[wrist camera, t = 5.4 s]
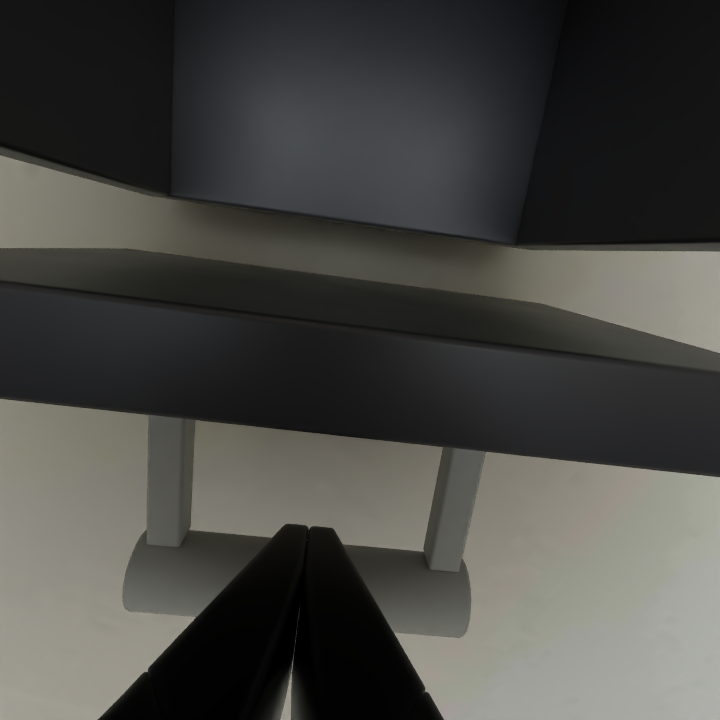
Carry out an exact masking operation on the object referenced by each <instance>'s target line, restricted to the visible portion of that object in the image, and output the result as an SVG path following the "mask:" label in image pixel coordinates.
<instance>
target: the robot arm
mask: <svg viewBox="0 0 720 720" xmlns="http://www.w3.org/2000/svg"><path fill="white" fill-rule="evenodd" d="M308 534H309V535H308ZM307 542H308V543H307ZM306 550H307V551H306ZM300 599H301V600H300ZM299 607H300V608H299ZM298 616H299V617H298ZM297 624H298V625H297ZM296 632H297V633H296ZM295 640H296V642H295ZM294 648H295V650H294ZM293 656H294V659H293ZM292 662H293V669H292ZM291 669H292V689H291V720H444V719H443V717H442V715H441V714H440V712H439V710H438V708H437V707H436V705H435V703H434V701H433V700H432V698H431V696H430V694H429V693H428V692H425V686H424V684H423V683H422V681H421V679H420V677H419V676H418V674H417V672H416V671H415V669H414V667H413V665H412V664H411V662H410V660H409V658H408V657H407V655H406V653H405V651H404V650H403V648H402V646H401V645H400V643H399V641H398V639H397V638H396V636H395V634H394V632H393V631H392V629H391V627H390V625H389V624H388V622H387V620H386V619H385V617H384V615H383V613H382V612H381V610H380V608H379V606H378V605H377V603H376V601H375V600H374V598H373V596H372V594H371V593H370V591H369V589H368V587H367V586H366V584H365V582H364V580H363V579H362V577H361V575H360V574H359V572H358V570H357V568H356V567H355V565H354V563H353V561H352V560H351V558H350V556H349V554H348V553H347V551H346V549H345V548H344V546H343V544H342V542H341V541H340V539H339V537H338V535H337V534H336V532H335V530H334V529H333V528H328V527H318V526H312V527H311V528H310V529H309V528H308V527H307V526H306V525H297V524H285V525H284V526H283V527H282V528H281V529H280V530H279V531H278V532H277V533H276V534H275V535H274V536H273V537H272V538H271V540H270V541H269V542H268V543H267V544H266V545H265V546H264V547H263V548H262V549H261V550H260V551H259V552H258V553H257V554H256V555H255V556H254V557H253V558H252V560H251V561H250V562H249V563H248V564H247V565H246V566H245V567H244V568H243V569H242V570H241V571H240V572H239V573H238V574H237V575H236V576H235V577H234V578H233V580H232V581H231V582H230V583H229V584H228V585H227V586H226V587H225V588H224V589H223V590H222V591H221V592H220V593H219V594H218V595H217V596H216V597H215V598H214V599H213V601H212V602H211V603H210V604H209V605H208V606H207V607H206V608H205V609H204V610H203V611H202V612H201V613H200V614H199V615H198V616H197V617H196V618H195V619H194V621H193V622H192V623H191V624H190V625H189V626H188V627H187V628H186V629H185V630H184V631H183V632H182V633H181V634H180V635H179V636H178V637H177V638H176V639H175V641H174V642H173V643H172V644H171V645H170V646H169V647H168V648H167V649H166V650H165V651H164V652H163V653H162V654H161V655H160V656H159V657H158V658H157V659H156V660H155V662H154V663H153V664H152V665H151V666H150V667H149V669H148V672H144V673H143V674H142V675H141V676H140V677H139V678H138V679H137V680H136V681H135V682H134V683H133V684H132V685H131V686H130V687H129V689H128V690H127V691H126V692H125V693H124V694H123V695H122V696H121V697H120V698H119V699H118V700H117V701H116V702H115V703H114V704H113V705H112V706H111V707H110V708H109V709H108V710H107V711H106V712H105V713H104V714H103V715H102V716H101V717H100V718H99V719H98V720H280V719H281V715H282V710H283V706H284V702H285V698H286V694H287V689H288V684H289V680H290V675H291Z"/></svg>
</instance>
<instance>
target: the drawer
mask: <svg viewBox="0 0 720 720" xmlns="http://www.w3.org/2000/svg"><path fill="white" fill-rule="evenodd" d="M0 155H1V156H5V157H9V158H13V159H16V160H20V161H24V162H27V163H31V164H35V165H38V166H42V167H46V168H49V169H53V170H57V171H60V172H64V173H68V174H71V175H75V176H79V177H82V178H86V179H90V180H93V181H97V182H101V183H104V184H108V185H112V186H115V187H119V188H123V189H126V190H130V191H134V192H138V193H141V194H145V195H148V196H152V197H159V198H167V199H174V200H181V201H188V202H195V203H202V204H209V205H216V206H223V207H230V208H237V209H244V210H251V211H259V212H266V213H273V214H280V215H287V216H294V217H301V218H308V219H315V220H322V221H329V222H336V223H343V224H351V225H358V226H365V227H372V228H379V229H386V230H393V231H400V232H407V233H414V234H421V235H428V236H435V237H443V238H450V239H457V240H464V241H471V242H478V243H485V244H492V245H499V246H506V247H513V248H520V249H527V250H585V251H720V0H0ZM0 399H8V400H17V401H26V402H35V403H45V404H54V405H63V406H72V407H81V408H90V409H100V410H109V411H118V412H127V413H136V414H145V415H149V428H148V488H147V530H145V531H144V533H143V534H142V535H141V537H140V538H139V540H138V542H137V544H136V546H135V548H134V550H133V552H132V555H131V557H130V560H129V563H128V567H127V570H126V574H125V579H124V585H123V604H124V607H125V609H126V610H128V611H131V612H143V613H156V614H168V615H181V616H194V617H197V616H198V615H199V614H200V613H201V612H202V611H203V610H204V609H205V608H206V607H207V606H208V605H209V604H210V603H211V602H212V601H213V599H214V598H215V597H216V596H217V595H218V594H219V593H220V592H221V591H222V590H223V589H224V588H225V587H226V586H227V585H228V584H229V583H230V582H231V581H232V580H233V578H234V577H235V576H236V575H237V574H238V573H239V572H240V571H241V570H242V569H243V568H244V567H245V566H246V565H247V564H248V563H249V562H250V561H251V560H252V558H253V557H254V556H255V555H256V554H257V553H258V552H259V551H260V550H261V549H262V548H263V547H264V546H265V545H266V544H267V543H268V542H269V541H270V540H271V538H269V537H258V536H247V535H237V534H226V533H215V532H204V531H193V530H189V529H190V526H191V504H192V481H193V458H194V436H195V420H200V421H210V422H219V423H228V424H237V425H246V426H256V427H265V428H274V429H283V430H292V431H301V432H311V433H320V434H329V435H338V436H347V437H356V438H366V439H375V440H384V441H393V442H402V443H412V444H421V445H430V446H439V447H443V451H442V456H441V461H440V466H439V471H438V477H437V482H436V487H435V492H434V497H433V502H432V507H431V512H430V518H429V523H428V528H427V533H426V538H425V543H424V548H423V549H424V552H420V551H410V550H399V549H388V548H377V547H366V546H355V545H345V544H343V546H344V548H345V549H346V551H347V553H348V554H349V556H350V558H351V560H352V561H353V563H354V565H355V567H356V568H357V570H358V572H359V574H360V575H361V577H362V579H363V580H364V582H365V584H366V586H367V587H368V589H369V591H370V593H371V594H372V596H373V598H374V600H375V601H376V603H377V605H378V606H379V608H380V610H381V612H382V613H383V615H384V617H385V619H386V620H387V622H388V624H389V625H390V627H391V629H392V631H393V632H394V633H407V634H419V635H432V636H444V637H457V638H460V637H462V636H464V635H465V633H466V631H467V628H468V625H469V620H470V612H471V589H470V581H469V575H468V571H467V567H466V564H465V562H464V560H463V559H462V557H463V552H464V547H465V543H466V538H467V534H468V529H469V525H470V520H471V516H472V511H473V507H474V502H475V498H476V493H477V489H478V484H479V480H480V475H481V471H482V466H483V462H484V457H485V453H486V452H494V453H503V454H512V455H522V456H531V457H540V458H549V459H558V460H567V461H577V462H586V463H595V464H604V465H613V466H623V467H632V468H641V469H650V470H659V471H668V472H678V473H687V474H696V475H705V476H714V477H720V353H717V352H713V351H710V350H706V349H702V348H699V347H695V346H692V345H688V344H684V343H681V342H677V341H674V340H670V339H666V338H663V337H659V336H656V335H652V334H648V333H645V332H641V331H638V330H634V329H630V328H627V327H623V326H620V325H616V324H613V323H609V322H605V321H602V320H598V319H595V318H591V317H587V316H584V315H580V314H577V313H573V312H569V311H566V310H562V309H559V308H555V307H551V306H548V305H544V304H540V303H532V302H525V301H517V300H510V299H502V298H495V297H487V296H480V295H472V294H465V293H457V292H450V291H442V290H435V289H427V288H420V287H412V286H405V285H397V284H390V283H382V282H375V281H367V280H360V279H352V278H345V277H337V276H330V275H322V274H315V273H307V272H300V271H292V270H285V269H277V268H270V267H262V266H255V265H247V264H239V263H232V262H224V261H217V260H209V259H202V258H194V257H187V256H179V255H172V254H164V253H157V252H149V251H142V250H134V249H110V248H0ZM307 543H308V542H307ZM306 551H307V550H306ZM300 600H301V599H300ZM299 608H300V607H299ZM298 617H299V616H298ZM297 625H298V624H297Z"/></svg>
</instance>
